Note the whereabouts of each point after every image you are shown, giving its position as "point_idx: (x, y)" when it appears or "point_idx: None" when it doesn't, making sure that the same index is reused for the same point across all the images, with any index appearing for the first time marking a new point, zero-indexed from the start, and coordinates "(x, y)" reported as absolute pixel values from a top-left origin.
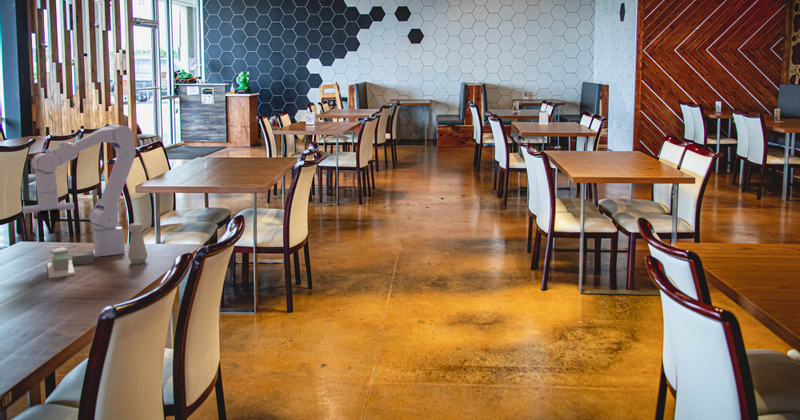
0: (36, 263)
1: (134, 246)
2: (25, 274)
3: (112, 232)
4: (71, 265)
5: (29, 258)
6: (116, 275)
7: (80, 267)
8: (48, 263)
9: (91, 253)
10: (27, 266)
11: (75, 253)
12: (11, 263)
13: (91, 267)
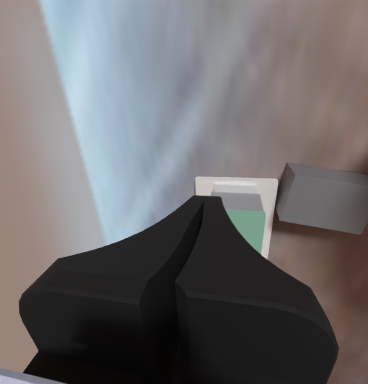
0: (160, 131)
1: None
2: None
3: None
4: (265, 245)
5: (125, 29)
6: (354, 349)
7: (289, 246)
8: (198, 188)
9: (364, 217)
10: (137, 158)
11: (303, 185)
12: (78, 90)
13: (320, 262)
